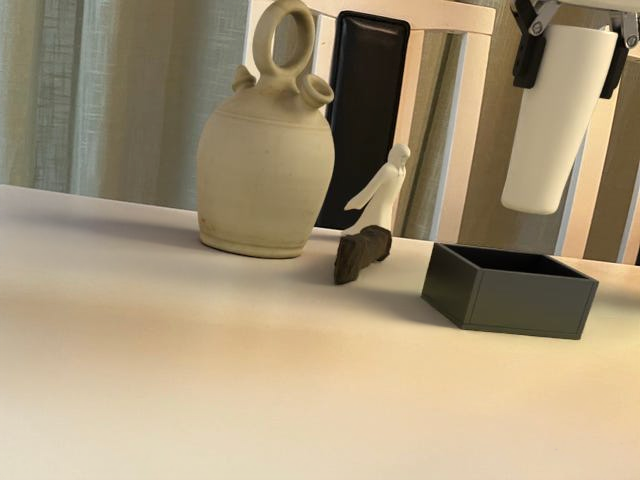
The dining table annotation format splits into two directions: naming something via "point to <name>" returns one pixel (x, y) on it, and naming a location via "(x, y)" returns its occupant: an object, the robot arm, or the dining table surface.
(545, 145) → the drinking glass
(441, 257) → the bin
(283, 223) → the jug
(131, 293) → the dining table surface
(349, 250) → the rough brown chunk
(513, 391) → the dining table surface
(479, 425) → the dining table surface
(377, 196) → the figurine
